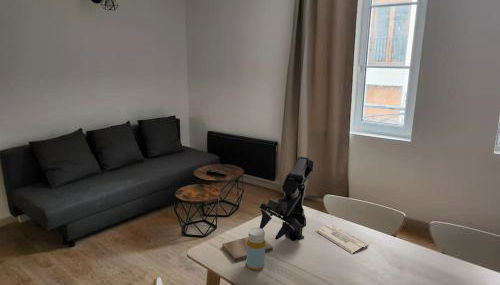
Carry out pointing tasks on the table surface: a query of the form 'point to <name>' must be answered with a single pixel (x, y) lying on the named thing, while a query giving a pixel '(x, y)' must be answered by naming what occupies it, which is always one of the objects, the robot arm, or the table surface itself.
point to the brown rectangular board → (241, 248)
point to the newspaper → (341, 238)
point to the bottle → (256, 249)
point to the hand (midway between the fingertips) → (267, 234)
